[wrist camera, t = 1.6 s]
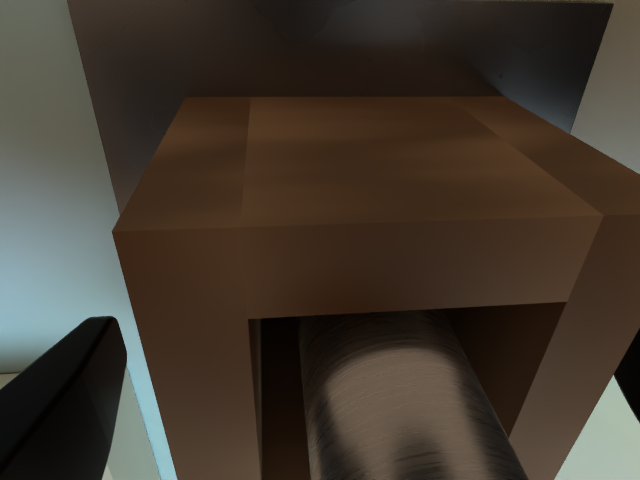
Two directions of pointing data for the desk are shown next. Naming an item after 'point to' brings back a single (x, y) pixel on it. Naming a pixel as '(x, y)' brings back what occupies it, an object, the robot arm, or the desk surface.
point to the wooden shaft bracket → (374, 263)
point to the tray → (125, 439)
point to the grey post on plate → (349, 81)
